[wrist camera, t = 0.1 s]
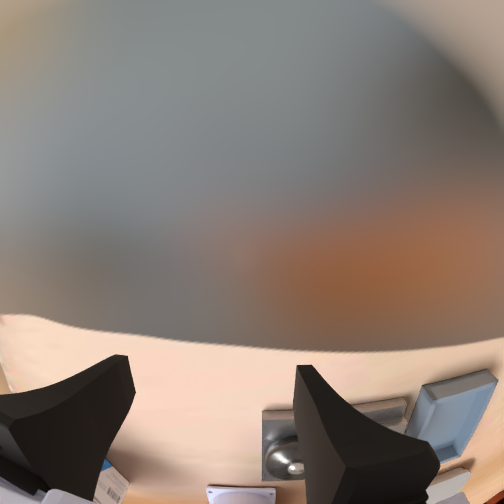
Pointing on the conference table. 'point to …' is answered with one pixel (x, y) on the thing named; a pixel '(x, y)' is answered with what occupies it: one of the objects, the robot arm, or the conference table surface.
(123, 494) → the ink box
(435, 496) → the tablet
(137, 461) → the conference table surface
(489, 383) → the parts tray
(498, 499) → the green stacked disc dispenser
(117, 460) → the conference table surface
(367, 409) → the base
